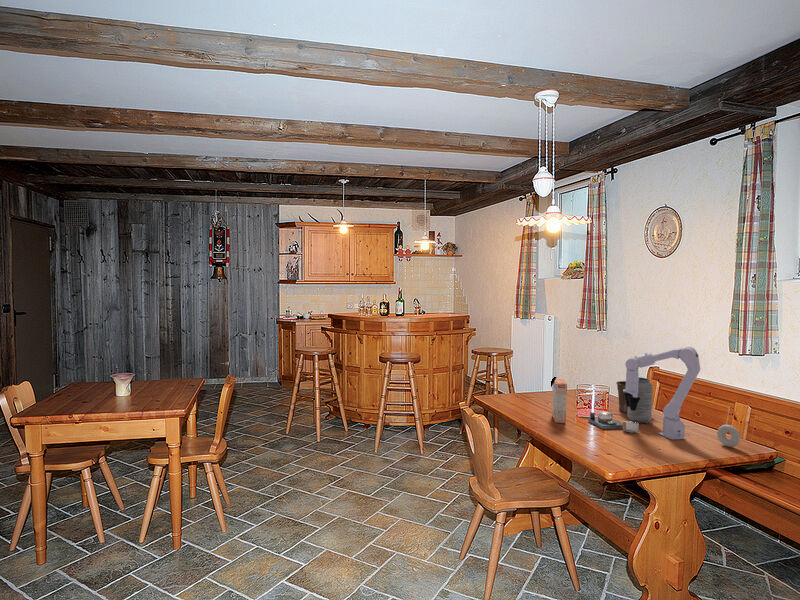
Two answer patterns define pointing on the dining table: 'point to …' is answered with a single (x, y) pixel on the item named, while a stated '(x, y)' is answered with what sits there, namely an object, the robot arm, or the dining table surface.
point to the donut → (734, 433)
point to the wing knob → (630, 426)
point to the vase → (642, 402)
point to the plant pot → (622, 396)
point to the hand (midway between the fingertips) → (631, 408)
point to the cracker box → (559, 401)
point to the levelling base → (604, 425)
